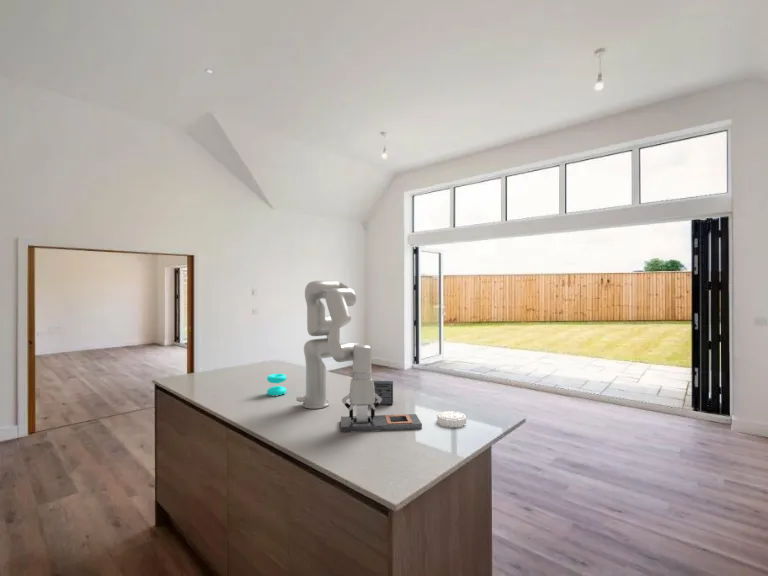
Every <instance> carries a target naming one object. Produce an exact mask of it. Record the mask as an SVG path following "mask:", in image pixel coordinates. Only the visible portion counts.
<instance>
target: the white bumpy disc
mask: <svg viewBox="0 0 768 576" xmlns="http://www.w3.org/2000/svg"><path fill="white" fill-rule="evenodd" d="M436 415H437V416H436V419H437V420H436V421H437V424H438V425H440V426H442V425H443V426H442V427H445V426H450V427H449V428H451V427H452V428H454V427H457V426H462V427H464V426H465V425H464V424H467V416H466V414H464V413H463V412H460V411H454V410H445V411H440V412H438V414H436ZM463 425H464V426H463ZM453 426H454V427H453ZM457 428H458V427H457Z"/></svg>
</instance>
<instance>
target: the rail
mask: <svg viewBox="0 0 768 576" xmlns="http://www.w3.org/2000/svg"><path fill="white" fill-rule="evenodd" d="M422 426H423V424H422V421H421V420H420V418H419V416H418V415H417V413H409V414H405V413H404V414H383V415H382V414H381V415H380V414H378V415H376V414H375V417H373V420H372V419H371V415H368V424H356V415H355V416H354V415H353V420H351V418H349V416H348V415H347V416H341V417H340V432H341V433H352V432H351V431H357V432H372V431H371V430H381V431H398V430H399V431H401V430H400V429H406V430H422V429H423V427H422Z"/></svg>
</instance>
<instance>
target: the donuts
mask: <svg viewBox="0 0 768 576" xmlns="http://www.w3.org/2000/svg"><path fill="white" fill-rule="evenodd" d="M266 380H267V382H268V383H270V384H281V383H284V382H286V380H287V375H286V374H284V373H273V374H269V375H268V376H267V378H266ZM266 393H267V395H268V396H270V395H274V396H273V397H276V396H275V395H281V396H283V395H282V394H284V395H285V394H286V393H287V388H286V387H284V386H281V385H274V386H271V387H269V388H268V389H267V391H266Z"/></svg>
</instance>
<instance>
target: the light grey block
mask: <svg viewBox="0 0 768 576" xmlns="http://www.w3.org/2000/svg"><path fill="white" fill-rule="evenodd" d="M355 406H356V407H355V409H356V415H355V416H356V423H355V424H369V423H368V416H369V412H368V411H369V408H368V407H369V405H355Z"/></svg>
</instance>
